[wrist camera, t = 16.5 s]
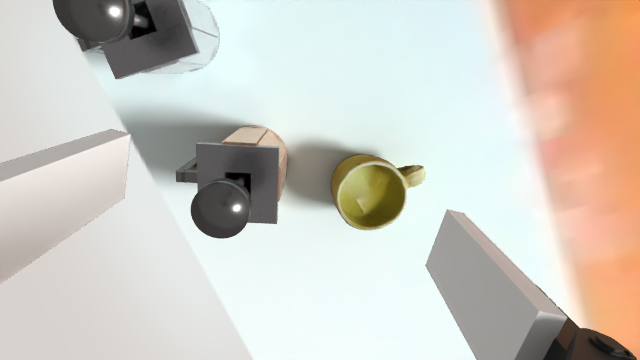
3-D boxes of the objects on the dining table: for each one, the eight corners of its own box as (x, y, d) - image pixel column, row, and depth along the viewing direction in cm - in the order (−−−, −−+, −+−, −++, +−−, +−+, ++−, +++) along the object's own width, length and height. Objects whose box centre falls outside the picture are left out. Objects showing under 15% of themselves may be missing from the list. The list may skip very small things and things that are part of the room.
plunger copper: (234, 136, 48) (189, 172, 31) (278, 146, 49) (260, 187, 31) (226, 178, 50) (180, 235, 32) (270, 188, 50) (247, 249, 33)
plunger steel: (154, -1, 43) (46, -51, 26) (204, 12, 44) (132, -29, 26) (148, 51, 45) (44, 37, 27) (197, 63, 45) (125, 56, 28)
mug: (330, 232, 53) (346, 239, 43) (317, 163, 54) (330, 154, 44) (408, 216, 55) (440, 218, 45) (395, 149, 56) (424, 138, 46)
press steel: (146, 86, 49) (89, 90, 36) (115, 14, 46) (43, -7, 34) (230, 59, 48) (201, 54, 36) (203, -15, 45) (163, -48, 33)
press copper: (204, 186, 53) (171, 221, 40) (202, 123, 50) (166, 139, 38) (286, 190, 53) (279, 226, 41) (289, 127, 51) (281, 145, 38)
